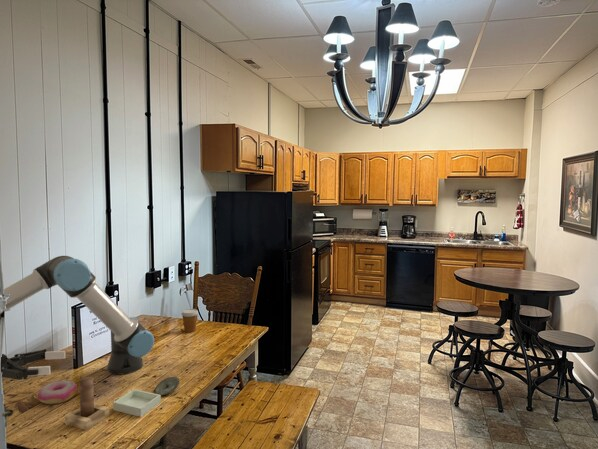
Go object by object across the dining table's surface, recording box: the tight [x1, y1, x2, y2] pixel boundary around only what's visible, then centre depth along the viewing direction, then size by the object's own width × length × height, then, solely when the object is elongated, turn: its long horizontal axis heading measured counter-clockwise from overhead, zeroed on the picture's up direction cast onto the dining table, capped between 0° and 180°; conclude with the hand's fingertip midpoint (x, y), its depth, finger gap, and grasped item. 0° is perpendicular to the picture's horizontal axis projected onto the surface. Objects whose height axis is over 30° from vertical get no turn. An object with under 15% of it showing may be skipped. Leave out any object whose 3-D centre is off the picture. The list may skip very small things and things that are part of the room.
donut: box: [37, 379, 78, 405], centre depth 165 cm, size 14×13×5 cm
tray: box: [112, 388, 162, 417], centre depth 159 cm, size 13×11×3 cm
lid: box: [154, 376, 181, 397], centre depth 171 cm, size 11×10×5 cm
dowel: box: [79, 376, 95, 418], centre depth 149 cm, size 4×4×15 cm
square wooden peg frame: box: [64, 403, 110, 431], centre depth 149 cm, size 10×10×3 cm
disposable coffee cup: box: [181, 308, 199, 334], centre depth 244 cm, size 10×10×12 cm
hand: (57, 362), depth 146 cm, fingers open, 13 cm apart
